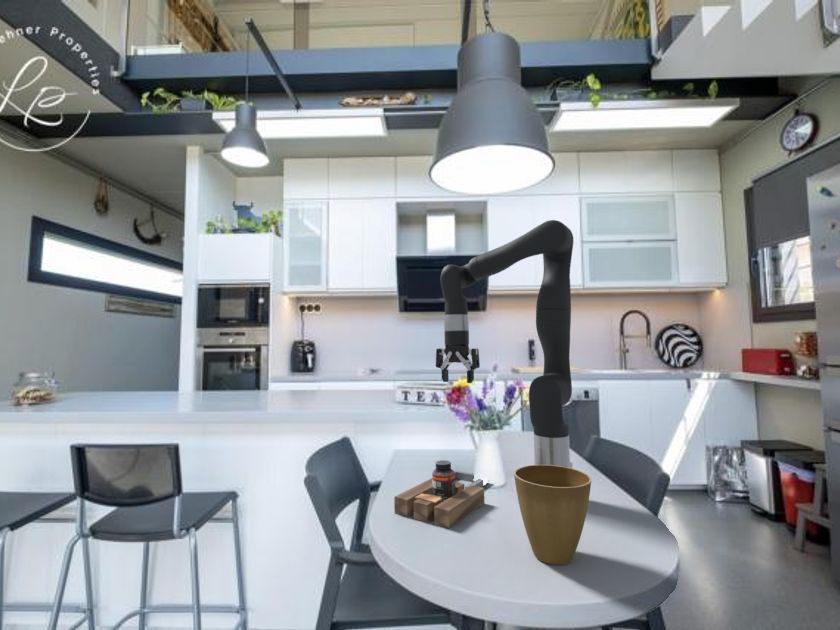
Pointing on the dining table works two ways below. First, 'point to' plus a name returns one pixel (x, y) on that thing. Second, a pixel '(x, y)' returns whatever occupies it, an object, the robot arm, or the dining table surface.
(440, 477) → the supplement bottle
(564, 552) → the plant pot
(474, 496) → the socket board
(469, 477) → the cradle
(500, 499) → the dining table surface
